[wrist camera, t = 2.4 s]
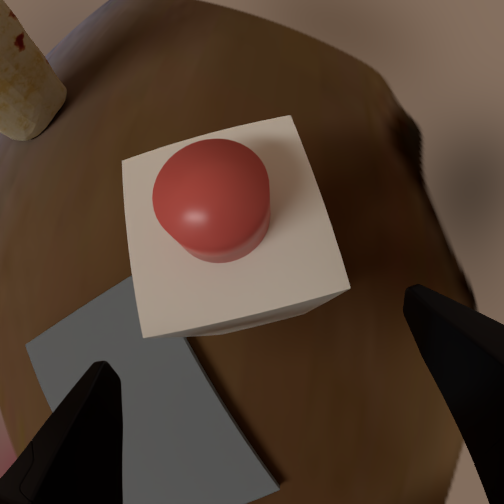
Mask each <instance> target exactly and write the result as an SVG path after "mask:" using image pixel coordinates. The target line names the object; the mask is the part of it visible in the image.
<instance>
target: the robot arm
mask: <svg viewBox="0 0 504 504" xmlns="http://www.w3.org/2000/svg"><path fill="white" fill-rule="evenodd" d="M403 312H404V316H405V318H406V321H407V323H408V325H409V327H410V330H411V332H412V334H413V337H414V339H415V341H416V344H417V346H418V348H419V351H420V353H421V355H422V357H423V359H424V361H425V363H426V365H427V367H428V369H429V370H430V372H431V374H432V376H433V378H434V380H435V382H436V384H437V386H438V387H439V389H440V391H441V393H442V395H443V397H444V399H445V401H446V403H447V405H448V407H449V409H450V411H451V413H452V415H453V417H454V420H455V422H456V424H457V426H458V428H459V430H460V432H461V435H462V437H463V439H464V441H465V443H466V446H467V448H468V450H469V453H470V455H471V457H472V460H473V462H474V463H475V464H474V465H475V467H476V470H477V472H478V474H479V477H480V480H481V482H482V485H483V487H484V490H485V492H486V495H487V498H488V501H489V504H504V325H503V324H501V323H499V322H497V321H495V320H493V319H491V318H489V317H487V316H485V315H483V314H481V313H479V312H477V311H475V310H473V309H471V308H469V307H467V306H465V305H462V304H460V303H458V302H456V301H454V300H452V299H450V298H448V297H446V296H444V295H441V294H439V293H437V292H435V291H433V290H431V289H429V288H427V287H424V286H422V285H420V284H416V285H413V286H410V287H408V288H407V289H406V291H405V298H404V305H403ZM122 451H123V412H122V388H121V380H120V377H119V376H118V374H117V373H116V372H115V370H114V369H113V368H112V367H111V365H110V364H109V363H108V362H107V361H104V360H103V361H96V362H94V363H93V364H92V365H91V366H90V367H89V369H88V370H87V371H86V372H85V373H84V375H83V376H82V377H81V378H80V379H79V381H78V382H77V383H76V384H75V386H74V387H73V388H72V389H71V390H70V392H69V393H68V394H67V395H66V397H65V398H64V399H63V400H62V402H61V403H60V404H59V405H58V407H57V408H56V409H55V410H54V412H53V413H52V414H51V416H50V417H49V418H48V419H47V421H46V422H45V423H44V425H43V426H42V427H41V428H40V430H39V431H38V432H37V434H36V435H35V436H34V438H33V439H32V441H30V443H29V444H28V446H27V447H26V448H25V450H24V451H23V452H22V453H21V455H20V456H19V457H18V459H17V460H16V461H15V462H14V463H13V465H12V466H11V467H10V468H9V469H8V470H7V472H6V473H5V474H4V475H3V476H2V477H1V478H0V504H123V484H122Z"/></svg>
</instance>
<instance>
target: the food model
mask: <svg viewBox="0 0 504 504" xmlns="http://www.w3.org/2000/svg"><path fill="white" fill-rule="evenodd" d="M66 94H67V90H66V87H65V86H64V84H63V83H62V82H61V81H60V80H59V79H58V77H57V76H56V74H55V73H54V71H53V70H52V68H51V66H50V65H49V63H48V61H47V60H46V58H45V56H44V55H43V54H42V52H41V51H40V50H39V48H38V47H37V46H36V45H35V43H34V42H33V41H32V40H31V39H30V37H29V36H28V34H27V33H26V31H25V30H24V28H23V27H22V25H21V24H20V22H19V20H18V19H17V17H16V16H15V15H14V14H13V12H12V11H11V10H10V9H9V7H8V6H7V5H6V3H5V2H4V1H3V0H0V132H1V133H2V134H4V135H6V136H8V137H9V138H11V139H13V140H21V141H27V140H30V139H32V138H34V137H36V136H38V135H39V134H40V133H41V132H42V131H43V130H44V129H45V128H46V127H47V126H48V124H49V123H50V121H51V120H52V119H53V117H54V116H55V114H56V113H57V112H58V110H59V109H60V108H61V107H62V105H63V104H64V102H65V99H66Z"/></svg>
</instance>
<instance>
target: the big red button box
mask: <svg viewBox="0 0 504 504" xmlns="http://www.w3.org/2000/svg"><path fill="white" fill-rule="evenodd" d="M122 174H123V192H124V206H125V218H126V229H127V238H128V247H129V255H130V263H131V271H132V278H133V284H134V291H135V297H136V303H137V309H138V315H139V320H140V325H141V331H142V336H143V338H169V337H190V336H207V335H221V334H225V333H230V332H234V331H238V330H243V329H247V328H251V327H255V326H259V325H264V324H268V323H272V322H276V321H279V320H283V319H287V318H291V317H295V316H298V315H302V314H305V313H307V312H309V311H311V310H313V309H315V308H316V307H318V306H320V305H322V304H324V303H325V302H327V301H329V300H331V299H333V298H334V297H336V296H338V295H340V294H342V293H343V292H345V291H347V290H349V289H350V284H349V281H348V277H347V274H346V270H345V267H344V264H343V260H342V257H341V254H340V251H339V247H338V244H337V241H336V238H335V235H334V232H333V229H332V226H331V223H330V220H329V217H328V214H327V211H326V208H325V205H324V202H323V199H322V196H321V193H320V191H319V188H318V185H317V182H316V180H315V177H314V174H313V171H312V169H311V166H310V163H309V161H308V158H307V156H306V153H305V150H304V148H303V145H302V143H301V140H300V138H299V135H298V133H297V130H296V128H295V125H294V123H293V120H292V118H291V116H290V115H289V116H283V117H278V118H273V119H268V120H264V121H259V122H254V123H250V124H246V125H241V126H237V127H233V128H229V129H225V130H221V131H217V132H213V133H209V134H206V135H202V136H198V137H195V138H191V139H188V140H184V141H181V142H178V143H174V144H171V145H168V146H165V147H161V148H158V149H155V150H152V151H149V152H146V153H143V154H140V155H137V156H135V157H132V158H129V159H126V160H123V161H122Z"/></svg>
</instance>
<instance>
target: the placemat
mask: <svg viewBox="0 0 504 504" xmlns="http://www.w3.org/2000/svg"><path fill="white" fill-rule="evenodd" d="M26 348H27V351H28V354H29V357H30V360H31V362H32V365H33V368H34V370H35V373H36V375H37V378H38V380H39V383H40V385H41V388H42V390H43V392H44V395H45V397H46V399H47V401H48V404H49V406H50V408H51V410H52V412H54V410H55V409H56V408H57V407H58V405H59V404H60V403H61V402H62V400H63V399H64V398H65V397H66V395H67V394H68V393H69V392H70V390H71V389H72V388H73V387H74V386H75V384H76V383H77V382H78V381H79V379H80V378H81V377H82V376H83V375H84V373H85V372H86V371H87V370H88V369H89V367H90V366H91V365H92V364H93V363H94V362H96V361H103V360H104V361H107V362H108V363H109V364H110V365H111V367H112V368H113V369H114V370H115V372H116V373H117V374H118V376H119V377H120V380H121V388H122V412H123V451H122V484H123V504H245V503H248V502H251V501H253V500H256V499H259V498H261V497H264V496H266V495H268V494H271V493H273V492H276V491H278V490H280V485H279V484H278V483H277V481H276V480H275V478H274V477H273V476H272V474H271V473H270V472H269V470H268V469H267V467H266V466H265V465H264V463H263V462H262V460H261V459H260V457H259V456H258V455H257V453H256V452H255V450H254V449H253V447H252V446H251V444H250V443H249V441H248V440H247V438H246V437H245V435H244V434H243V432H242V431H241V429H240V428H239V426H238V425H237V423H236V422H235V420H234V418H233V417H232V415H231V414H230V412H229V411H228V409H227V407H226V406H225V404H224V403H223V401H222V399H221V398H220V396H219V394H218V393H217V391H216V389H215V388H214V386H213V384H212V383H211V381H210V379H209V378H208V376H207V374H206V372H205V371H204V369H203V367H202V366H201V364H200V362H199V360H198V358H197V357H196V355H195V353H194V351H193V349H192V348H191V346H190V344H189V342H188V340H187V339H186V337H169V338H143V336H142V331H141V325H140V320H139V315H138V309H137V303H136V297H135V291H134V284H133V278H132V276H130V277H128V278H127V279H125V280H124V281H122V282H120V283H119V284H117V285H116V286H114V287H112V288H111V289H109V290H108V291H106V292H105V293H103V294H101V295H100V296H98V297H97V298H95V299H94V300H92V301H90V302H89V303H87V304H86V305H84V306H83V307H81V308H80V309H78V310H77V311H75V312H74V313H72V314H71V315H69V316H67V317H66V318H64V319H63V320H61V321H60V322H58V323H57V324H55V325H54V326H52V327H51V328H49V329H48V330H46V331H45V332H44V333H42V334H41V335H39V336H38V337H36V338H35V339H33V340H32V341H30V342H29V343H27V344H26Z"/></svg>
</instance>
